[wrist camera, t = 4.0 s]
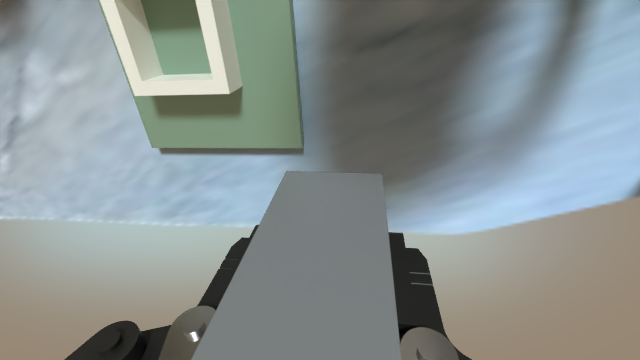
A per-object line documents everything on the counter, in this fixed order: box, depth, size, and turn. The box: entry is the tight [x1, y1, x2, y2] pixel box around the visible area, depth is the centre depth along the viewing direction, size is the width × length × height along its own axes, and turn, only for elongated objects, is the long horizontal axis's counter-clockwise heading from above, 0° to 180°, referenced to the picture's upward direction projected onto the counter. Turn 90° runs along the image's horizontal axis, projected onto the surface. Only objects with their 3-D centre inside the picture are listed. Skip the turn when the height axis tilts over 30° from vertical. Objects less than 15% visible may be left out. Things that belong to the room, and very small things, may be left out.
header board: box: [98, 0, 304, 148], centre depth 19 cm, size 14×22×5 cm, turn 3°
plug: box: [191, 171, 402, 360], centre depth 9 cm, size 4×4×9 cm
